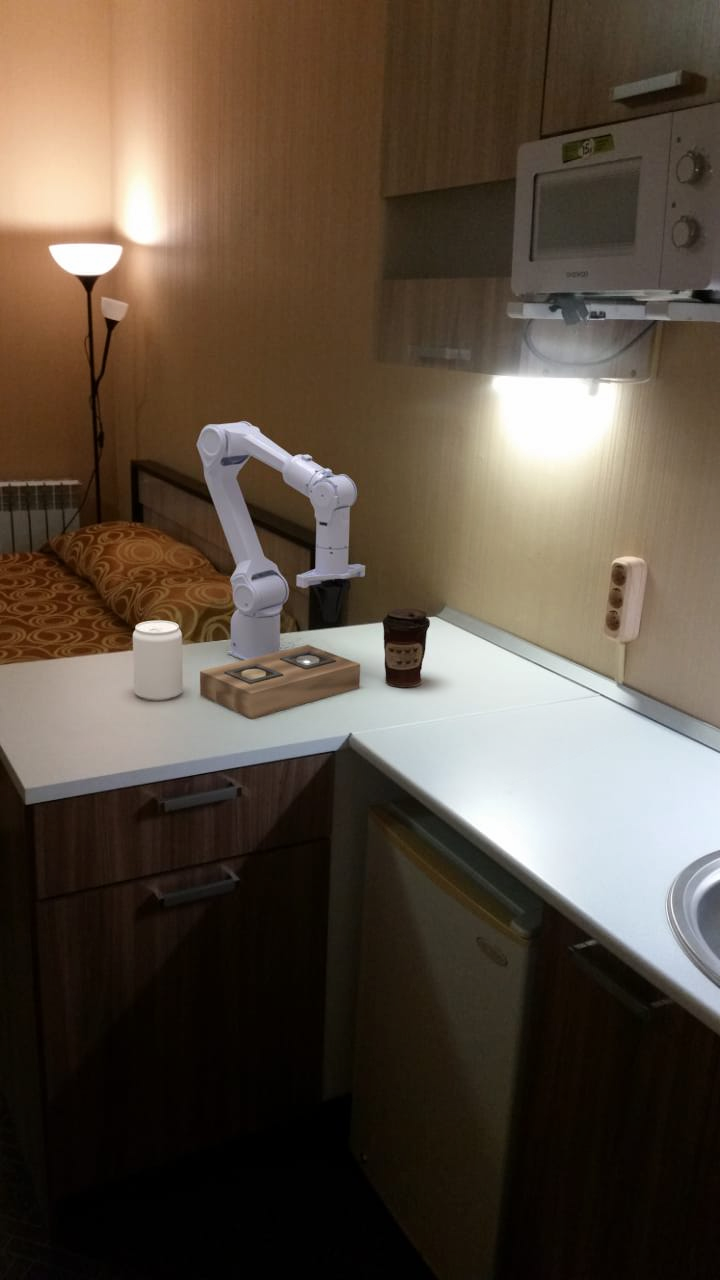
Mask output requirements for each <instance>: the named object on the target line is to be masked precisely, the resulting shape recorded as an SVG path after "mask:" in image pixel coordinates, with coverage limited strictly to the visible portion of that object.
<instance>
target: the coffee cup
mask: <svg viewBox="0 0 720 1280" xmlns="http://www.w3.org/2000/svg"><path fill="white" fill-rule="evenodd" d="M386 614H387V615H385V617H384V618H383V620H382V627H383V651H384V670H385V683H386V684H388V685H390V686H393V687H398V688H399V687H400V688H409V687H411V688H412V687H416V686H419V685H421V684H422V677H421V676H422V675H421V672H422V670H423V669H422V668H423V661H424V657H425V654H426V644H427V636H428V633H427V632H428V629H429V628H430V626H431V625H430V624H431V621H430V619H429V618H428V617H427V612H426V611H423V610H420V609H417V608H415V609H414V608H403V609H402V608H401V609H400V608H397V609H394V610H389V611H387V612H386Z"/></svg>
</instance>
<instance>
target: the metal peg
mask: <svg viewBox="0 0 720 1280" xmlns="http://www.w3.org/2000/svg"><path fill="white" fill-rule="evenodd" d="M297 662H299V663H301V664H304V665H310V664H314V663H318V662H319V658H318V657H315V656H300V657H298V658H297Z"/></svg>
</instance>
